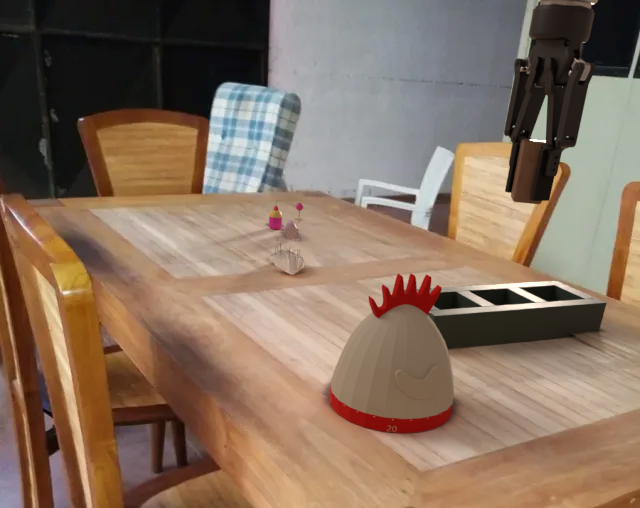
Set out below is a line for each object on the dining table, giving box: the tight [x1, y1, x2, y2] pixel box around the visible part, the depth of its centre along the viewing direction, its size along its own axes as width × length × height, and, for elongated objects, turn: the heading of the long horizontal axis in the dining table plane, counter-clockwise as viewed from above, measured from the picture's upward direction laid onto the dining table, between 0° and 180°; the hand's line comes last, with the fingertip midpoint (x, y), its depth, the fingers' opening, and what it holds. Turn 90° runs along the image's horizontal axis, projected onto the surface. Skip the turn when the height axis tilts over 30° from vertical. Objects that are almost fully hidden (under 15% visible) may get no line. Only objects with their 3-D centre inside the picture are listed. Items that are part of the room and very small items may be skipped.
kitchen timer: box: [328, 273, 455, 434], centre depth 77 cm, size 14×14×15 cm
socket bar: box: [404, 280, 608, 350], centre depth 105 cm, size 11×30×5 cm, turn 113°
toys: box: [268, 199, 304, 241], centre depth 154 cm, size 18×8×6 cm, turn 6°
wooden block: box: [510, 138, 546, 205], centre depth 99 cm, size 4×4×8 cm
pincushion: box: [268, 237, 305, 276], centre depth 126 cm, size 12×6×6 cm, turn 11°
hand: (526, 195), depth 100 cm, fingers closed on wooden block, 5 cm apart
